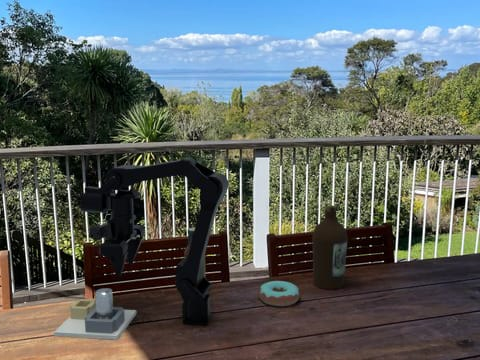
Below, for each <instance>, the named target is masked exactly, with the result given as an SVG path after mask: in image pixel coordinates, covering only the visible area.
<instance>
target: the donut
mask: <svg viewBox="0 0 480 360" xmlns="http://www.w3.org/2000/svg"><path fill="white" fill-rule="evenodd" d="M300 295H301V293H300V289H299V288H298V286H297V285H295V284H294V283H291V282H289V281H282V280H274V281H268V282H265V283H263V284H261V285H260V287H259V289H258V296H259V299H260V300H261V301H262V302H263V303H264V304H266V305H269V306H273V307H289V306H291V305H294V304H296V302H298V301H299V298H300Z"/></svg>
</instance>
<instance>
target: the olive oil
mask: <svg viewBox="0 0 480 360" xmlns="http://www.w3.org/2000/svg"><path fill="white" fill-rule="evenodd" d="M311 237H312V239H311V240H312V241H311V242H312V282H313V285H314V286H315V287H317V288H319V289H322V290H337V289H341V288H343V287H344V282H345V281H344V280H345V273H346V268H347V267H346V259H347V249H348V247H347V246H348V232H347V230H346V228H345V227H344V226H343V224H341V222H340V221H339V220H338V219H337V206H336V205H332V204H331V205H330V204H329V205H326V206H325V210H324V218H323V219H322V220H321V221H319V223H318V224H317V225H316V226H315V228H314V230H313V232H312V236H311Z"/></svg>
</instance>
